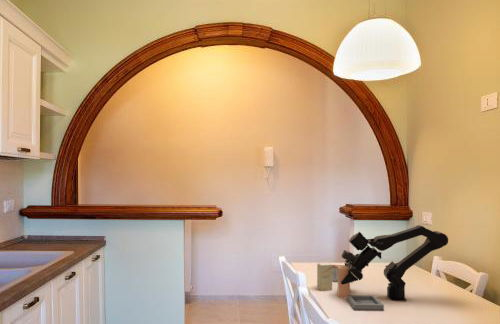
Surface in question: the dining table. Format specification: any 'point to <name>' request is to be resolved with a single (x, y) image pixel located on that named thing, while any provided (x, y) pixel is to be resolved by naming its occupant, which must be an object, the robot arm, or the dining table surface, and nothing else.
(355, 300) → the tray
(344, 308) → the dining table surface
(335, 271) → the tin
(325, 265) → the skincare box
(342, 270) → the peach square prism
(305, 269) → the dining table surface
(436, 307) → the dining table surface
